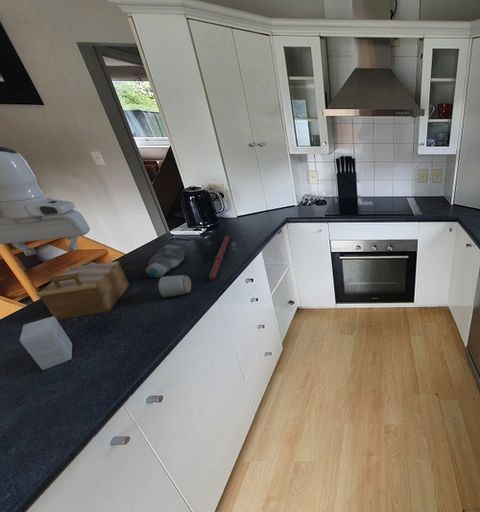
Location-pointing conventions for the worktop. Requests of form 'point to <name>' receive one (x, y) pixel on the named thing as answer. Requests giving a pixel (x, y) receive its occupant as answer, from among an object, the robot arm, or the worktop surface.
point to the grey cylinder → (174, 285)
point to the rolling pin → (219, 258)
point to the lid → (78, 278)
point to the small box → (46, 342)
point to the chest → (88, 297)
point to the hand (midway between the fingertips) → (53, 252)
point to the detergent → (165, 260)
